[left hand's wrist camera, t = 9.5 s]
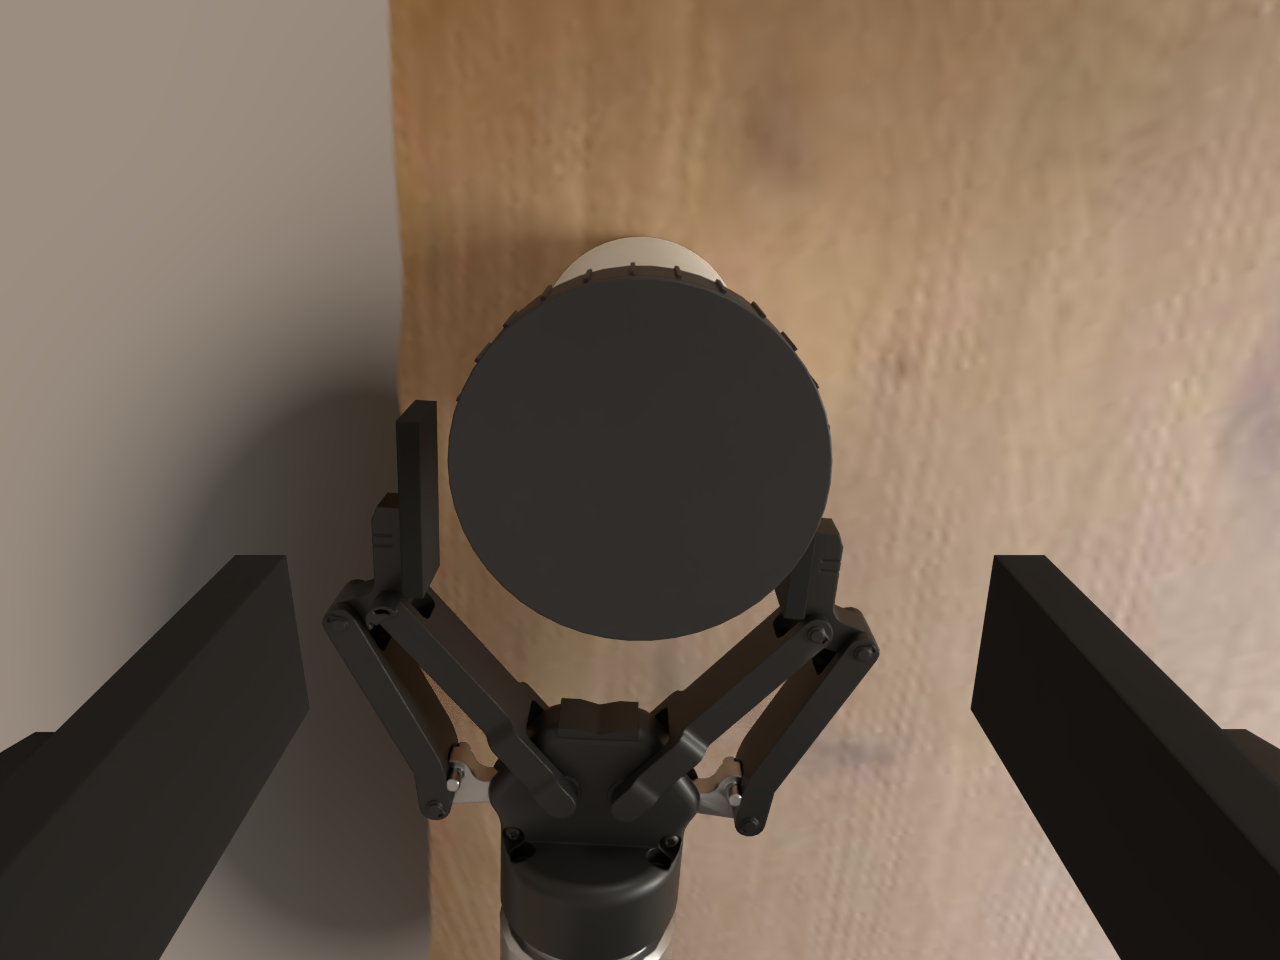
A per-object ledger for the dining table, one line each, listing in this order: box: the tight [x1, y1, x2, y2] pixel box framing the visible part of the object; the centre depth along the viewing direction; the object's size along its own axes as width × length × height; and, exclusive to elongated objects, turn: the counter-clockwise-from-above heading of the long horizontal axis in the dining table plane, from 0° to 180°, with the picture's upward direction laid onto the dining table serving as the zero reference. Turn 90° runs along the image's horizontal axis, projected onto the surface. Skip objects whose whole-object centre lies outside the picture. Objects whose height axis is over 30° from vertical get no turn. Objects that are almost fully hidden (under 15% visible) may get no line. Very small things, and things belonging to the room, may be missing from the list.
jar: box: [553, 237, 727, 288], centre depth 28 cm, size 8×8×16 cm
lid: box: [448, 262, 832, 641], centre depth 22 cm, size 9×9×2 cm
